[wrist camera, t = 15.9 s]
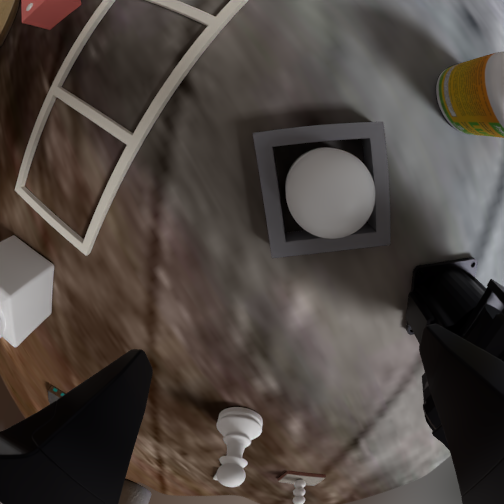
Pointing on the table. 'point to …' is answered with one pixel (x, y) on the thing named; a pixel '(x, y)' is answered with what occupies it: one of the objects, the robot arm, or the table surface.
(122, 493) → the pillar candle
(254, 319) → the table surface
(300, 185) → the white ball
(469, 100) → the supplement bottle
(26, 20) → the red die
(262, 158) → the dome base
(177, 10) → the track
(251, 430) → the chess pawn
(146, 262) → the table surface
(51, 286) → the medicine bottle
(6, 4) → the plant saucer
